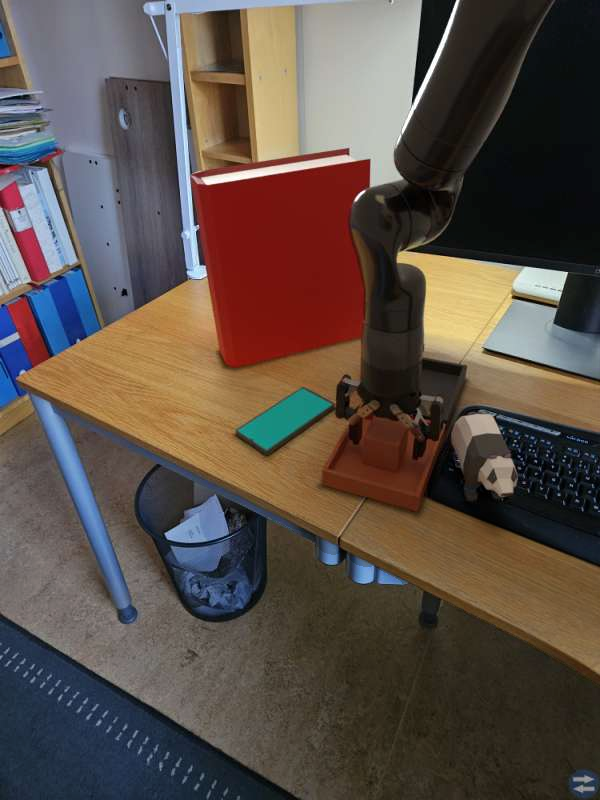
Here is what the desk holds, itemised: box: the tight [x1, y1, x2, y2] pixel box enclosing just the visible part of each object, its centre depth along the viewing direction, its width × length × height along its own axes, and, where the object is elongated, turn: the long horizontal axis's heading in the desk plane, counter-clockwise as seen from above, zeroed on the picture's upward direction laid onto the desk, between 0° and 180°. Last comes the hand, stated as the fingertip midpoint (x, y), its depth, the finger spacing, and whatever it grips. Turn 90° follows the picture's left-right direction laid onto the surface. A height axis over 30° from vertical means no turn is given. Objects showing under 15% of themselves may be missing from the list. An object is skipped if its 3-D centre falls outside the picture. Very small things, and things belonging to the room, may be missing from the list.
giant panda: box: [450, 411, 519, 502], centre depth 71 cm, size 15×6×10 cm, turn 2°
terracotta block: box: [362, 415, 409, 473], centre depth 77 cm, size 5×5×5 cm
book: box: [189, 147, 372, 368], centre depth 97 cm, size 27×8×32 cm, turn 110°
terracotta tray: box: [321, 413, 446, 512], centre depth 78 cm, size 13×15×3 cm
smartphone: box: [235, 386, 336, 456], centre depth 87 cm, size 7×1×15 cm
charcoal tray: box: [360, 356, 468, 436], centre depth 90 cm, size 13×15×3 cm
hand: (386, 448), depth 78 cm, fingers open, 8 cm apart
